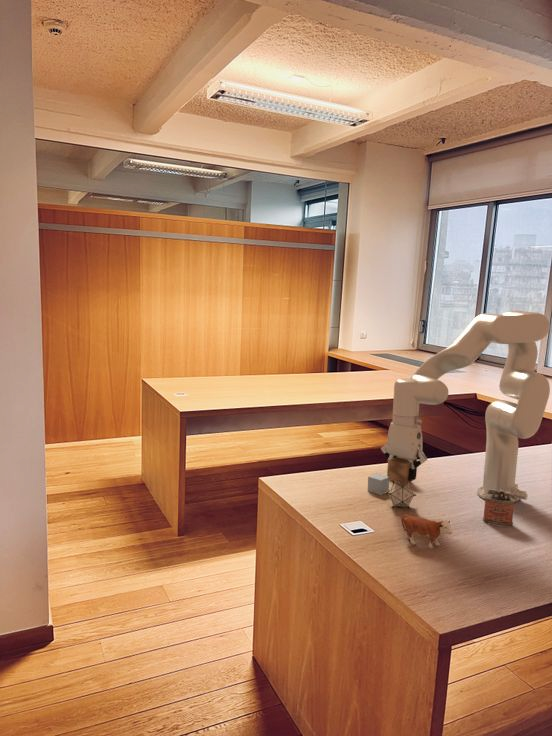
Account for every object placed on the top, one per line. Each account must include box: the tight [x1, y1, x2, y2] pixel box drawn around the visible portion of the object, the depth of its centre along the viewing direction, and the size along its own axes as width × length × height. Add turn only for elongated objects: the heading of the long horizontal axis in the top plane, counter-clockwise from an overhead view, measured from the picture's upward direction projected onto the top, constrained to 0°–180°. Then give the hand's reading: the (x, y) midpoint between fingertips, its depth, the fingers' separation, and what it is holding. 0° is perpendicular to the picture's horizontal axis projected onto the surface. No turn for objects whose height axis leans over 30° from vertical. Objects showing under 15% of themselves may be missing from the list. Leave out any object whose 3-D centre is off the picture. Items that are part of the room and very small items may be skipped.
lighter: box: [482, 489, 516, 528], centre depth 158 cm, size 8×3×10 cm, turn 71°
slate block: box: [367, 472, 390, 496], centre depth 181 cm, size 5×5×5 cm
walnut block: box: [388, 457, 417, 484], centre depth 167 cm, size 6×6×6 cm
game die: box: [386, 480, 417, 510], centre depth 169 cm, size 9×8×10 cm
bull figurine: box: [401, 514, 454, 550], centre depth 144 cm, size 4×13×8 cm, turn 58°
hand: (402, 476), depth 168 cm, fingers closed on walnut block, 5 cm apart
